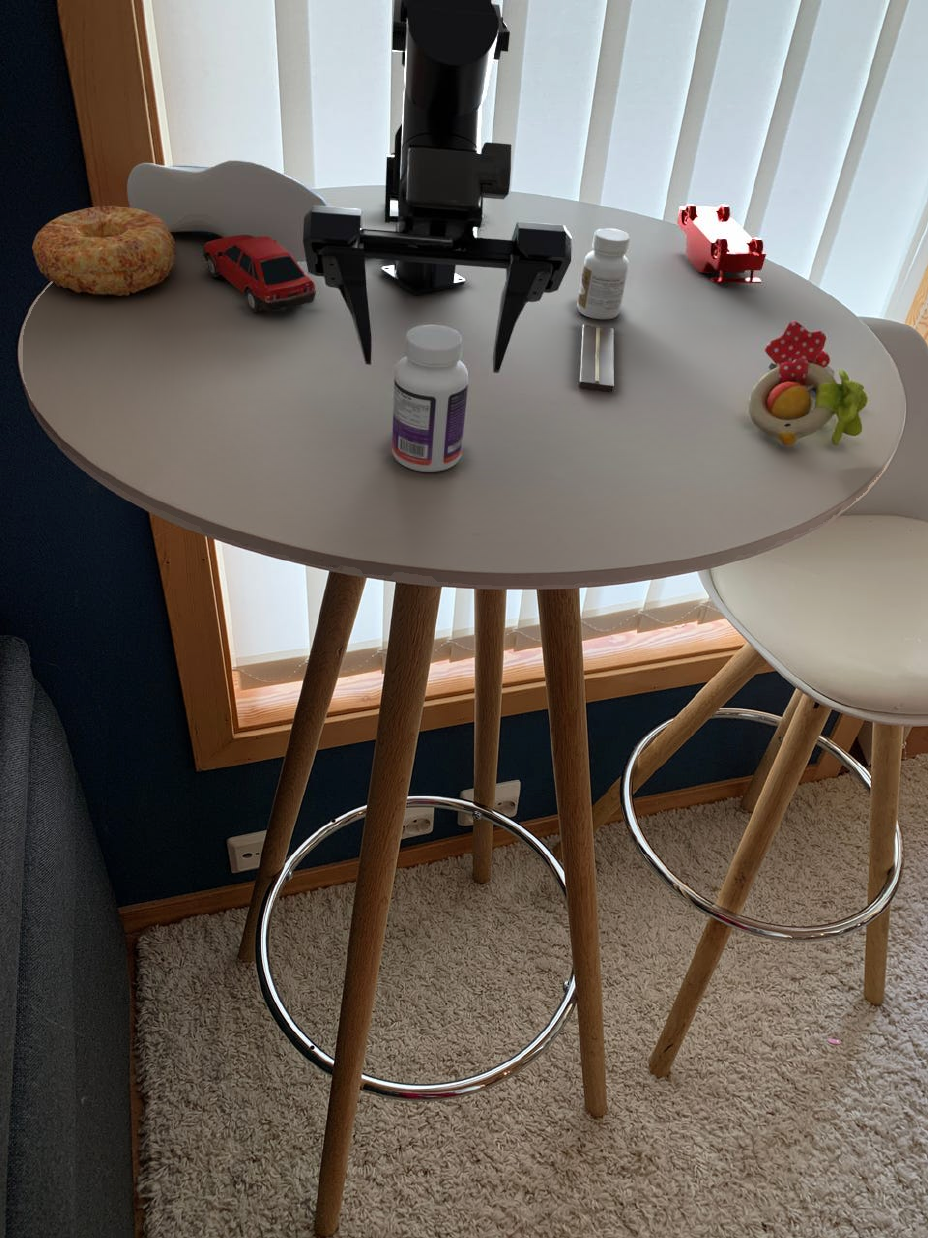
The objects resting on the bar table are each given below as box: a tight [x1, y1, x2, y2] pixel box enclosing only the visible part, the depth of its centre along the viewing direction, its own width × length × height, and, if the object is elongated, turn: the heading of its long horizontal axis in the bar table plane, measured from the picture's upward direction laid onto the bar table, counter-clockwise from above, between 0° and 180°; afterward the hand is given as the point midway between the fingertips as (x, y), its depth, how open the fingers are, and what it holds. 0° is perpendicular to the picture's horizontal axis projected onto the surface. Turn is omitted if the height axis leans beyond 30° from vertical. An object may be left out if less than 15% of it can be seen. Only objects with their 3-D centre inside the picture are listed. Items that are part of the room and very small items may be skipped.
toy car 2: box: [676, 203, 767, 284], centre depth 106 cm, size 14×6×5 cm, turn 10°
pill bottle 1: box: [391, 324, 469, 473], centre depth 69 cm, size 5×5×10 cm
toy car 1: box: [202, 235, 317, 313], centre depth 90 cm, size 6×14×5 cm, turn 37°
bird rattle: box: [748, 320, 869, 447], centre depth 79 cm, size 6×11×9 cm
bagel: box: [31, 205, 177, 297], centre depth 90 cm, size 13×14×5 cm
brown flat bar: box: [578, 324, 615, 393], centre depth 87 cm, size 12×3×1 cm, turn 173°
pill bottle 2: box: [576, 227, 631, 320], centre depth 93 cm, size 4×4×8 cm
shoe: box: [126, 159, 332, 263], centre depth 100 cm, size 9×23×12 cm
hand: (432, 366), depth 67 cm, fingers open, 9 cm apart
